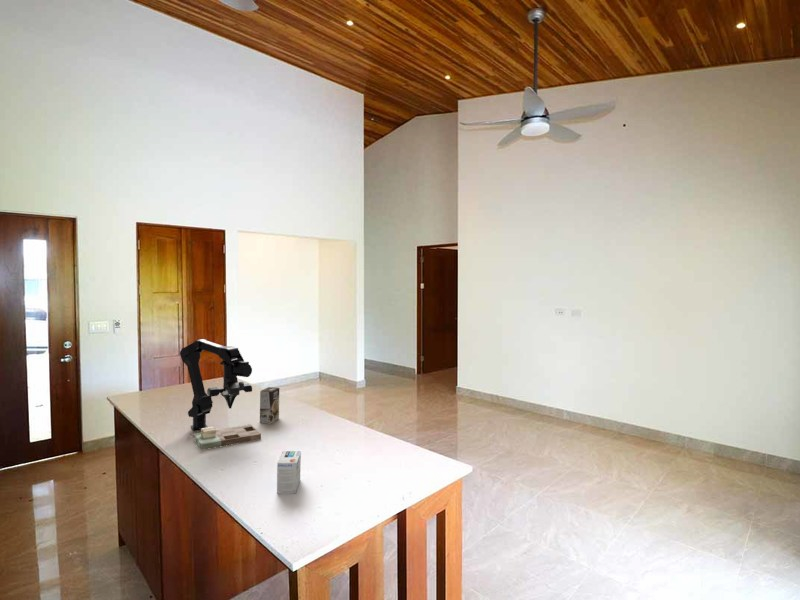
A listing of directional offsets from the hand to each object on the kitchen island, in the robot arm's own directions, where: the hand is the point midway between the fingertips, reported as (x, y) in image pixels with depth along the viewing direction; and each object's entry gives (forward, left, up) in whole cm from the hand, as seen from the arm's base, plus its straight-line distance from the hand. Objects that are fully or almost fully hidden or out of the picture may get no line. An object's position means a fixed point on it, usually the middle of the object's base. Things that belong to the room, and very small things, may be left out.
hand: (229, 408), depth 206 cm
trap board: (+6, -3, -12) cm, 14 cm away
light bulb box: (+64, +4, -12) cm, 65 cm away
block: (+5, -10, -10) cm, 15 cm away
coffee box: (-10, +22, -12) cm, 27 cm away
